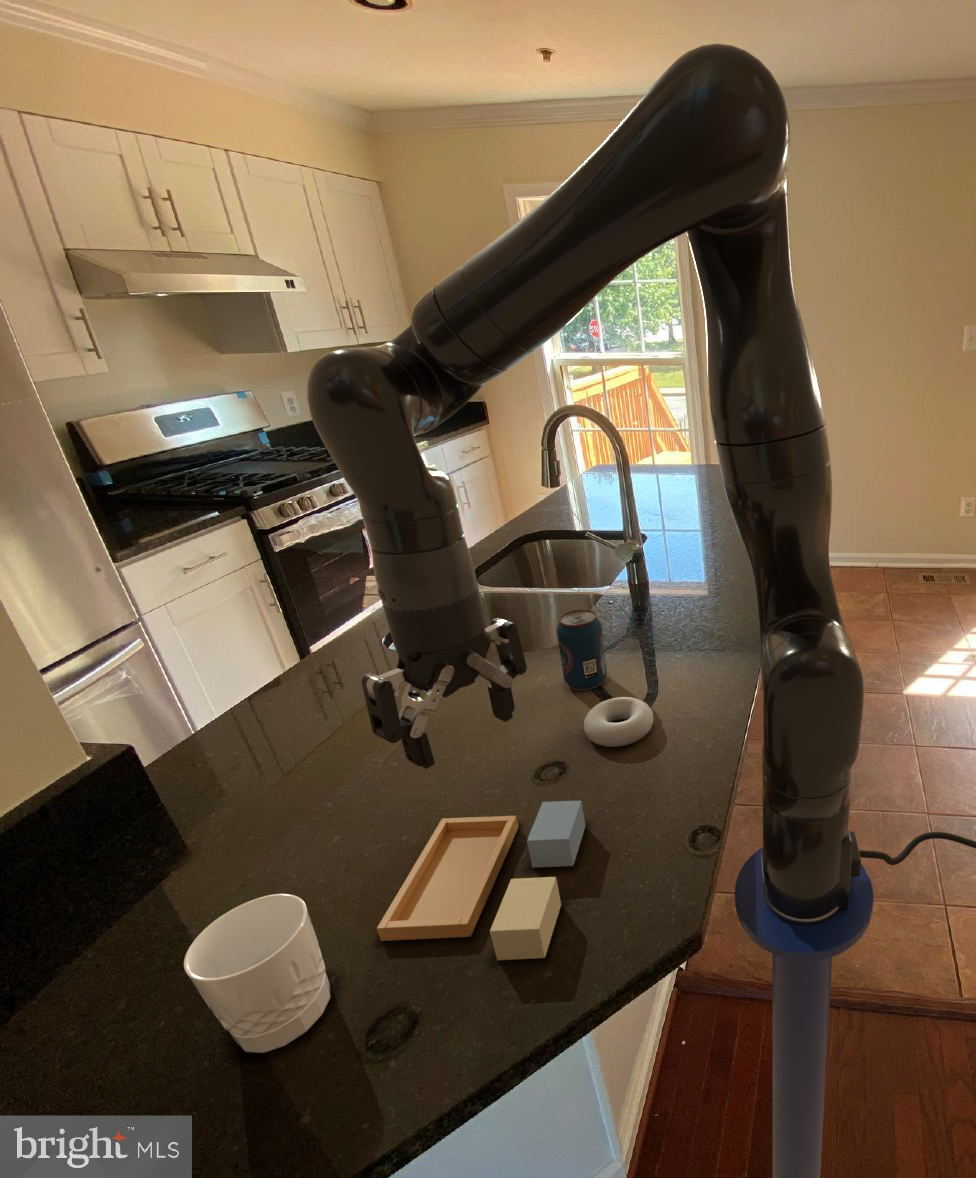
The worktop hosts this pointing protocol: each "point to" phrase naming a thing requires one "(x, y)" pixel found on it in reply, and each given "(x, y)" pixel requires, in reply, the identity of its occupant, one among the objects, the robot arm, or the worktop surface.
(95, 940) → the worktop surface
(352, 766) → the worktop surface
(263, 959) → the white cup
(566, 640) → the soda can
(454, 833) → the frame
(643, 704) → the donut
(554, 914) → the pad
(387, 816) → the worktop surface
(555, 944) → the worktop surface
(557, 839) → the pad
